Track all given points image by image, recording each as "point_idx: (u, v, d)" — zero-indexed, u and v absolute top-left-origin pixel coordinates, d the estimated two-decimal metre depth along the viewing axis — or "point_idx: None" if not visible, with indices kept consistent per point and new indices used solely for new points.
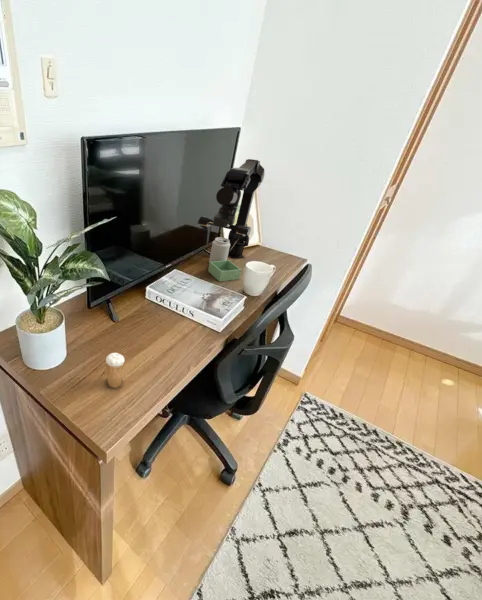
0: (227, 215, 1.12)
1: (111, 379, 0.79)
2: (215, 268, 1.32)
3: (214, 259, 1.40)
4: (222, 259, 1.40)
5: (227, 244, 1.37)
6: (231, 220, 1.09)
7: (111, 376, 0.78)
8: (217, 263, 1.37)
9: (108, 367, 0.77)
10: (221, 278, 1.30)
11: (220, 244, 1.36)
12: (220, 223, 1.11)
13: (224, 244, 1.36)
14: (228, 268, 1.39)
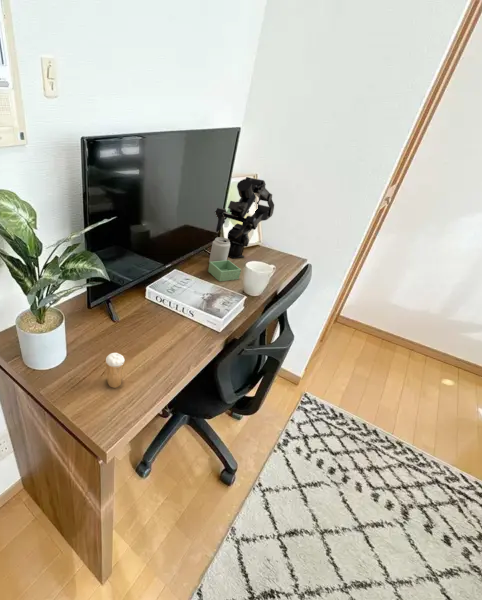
0: None
1: (111, 379, 0.79)
2: (215, 268, 1.32)
3: (214, 259, 1.40)
4: (222, 259, 1.40)
5: (227, 244, 1.37)
6: (243, 205, 1.30)
7: (111, 376, 0.78)
8: (217, 263, 1.37)
9: (108, 367, 0.77)
10: (221, 278, 1.30)
11: (220, 244, 1.36)
12: (234, 206, 1.32)
13: (224, 244, 1.36)
14: (228, 268, 1.39)
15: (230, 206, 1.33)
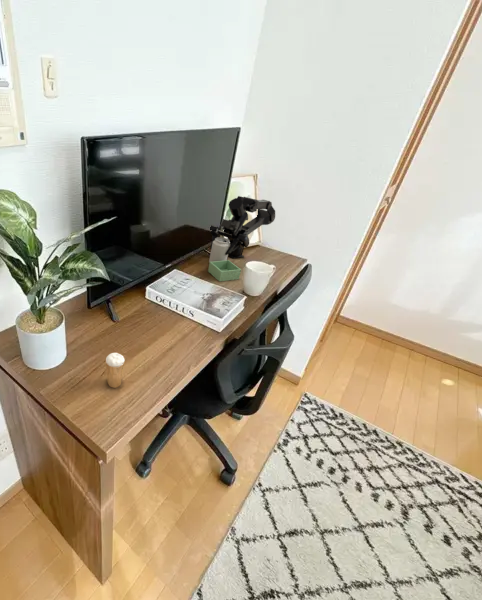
0: None
1: (111, 379, 0.79)
2: (215, 268, 1.32)
3: (214, 259, 1.40)
4: (222, 259, 1.40)
5: (227, 244, 1.37)
6: (235, 223, 1.33)
7: (111, 376, 0.78)
8: (217, 263, 1.37)
9: (108, 367, 0.77)
10: (221, 278, 1.30)
11: (220, 244, 1.36)
12: (226, 224, 1.34)
13: (224, 244, 1.36)
14: (228, 268, 1.39)
15: (222, 224, 1.35)
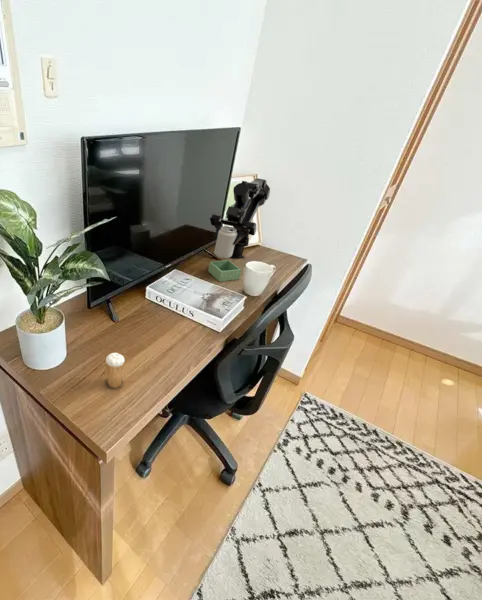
0: None
1: (111, 379, 0.79)
2: (215, 268, 1.32)
3: (222, 250, 1.31)
4: (230, 249, 1.30)
5: (235, 233, 1.28)
6: (243, 210, 1.24)
7: (111, 376, 0.78)
8: (217, 263, 1.37)
9: (108, 367, 0.77)
10: (221, 278, 1.30)
11: (228, 234, 1.27)
12: (233, 212, 1.25)
13: (232, 233, 1.27)
14: (228, 268, 1.39)
15: (229, 212, 1.26)
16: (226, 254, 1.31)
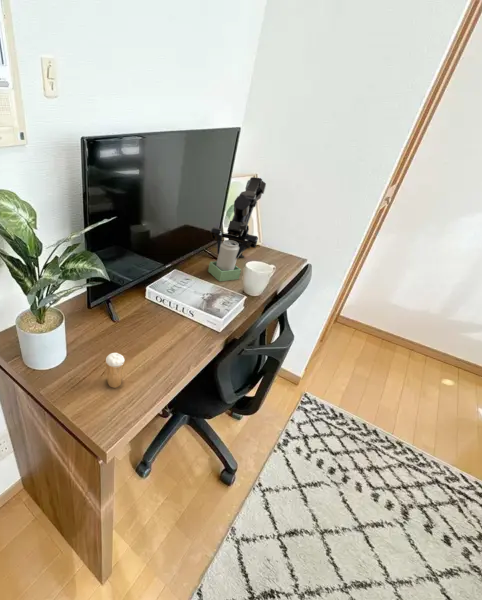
0: None
1: (111, 379, 0.79)
2: (215, 268, 1.32)
3: (225, 264, 1.30)
4: (233, 263, 1.30)
5: (237, 247, 1.27)
6: (245, 224, 1.24)
7: (111, 376, 0.78)
8: None
9: (108, 367, 0.77)
10: (221, 278, 1.30)
11: (231, 248, 1.26)
12: (236, 226, 1.24)
13: (235, 247, 1.26)
14: None
15: (231, 226, 1.25)
16: (229, 268, 1.30)
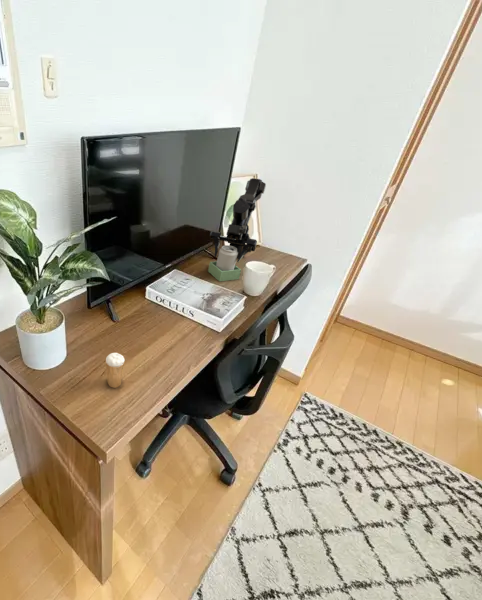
0: None
1: (111, 379, 0.79)
2: (215, 268, 1.32)
3: (224, 269, 1.31)
4: (231, 268, 1.31)
5: (236, 252, 1.28)
6: (244, 228, 1.24)
7: (111, 376, 0.78)
8: None
9: (108, 367, 0.77)
10: (221, 278, 1.30)
11: (230, 253, 1.27)
12: (235, 230, 1.25)
13: (234, 253, 1.28)
14: None
15: (230, 230, 1.25)
16: None
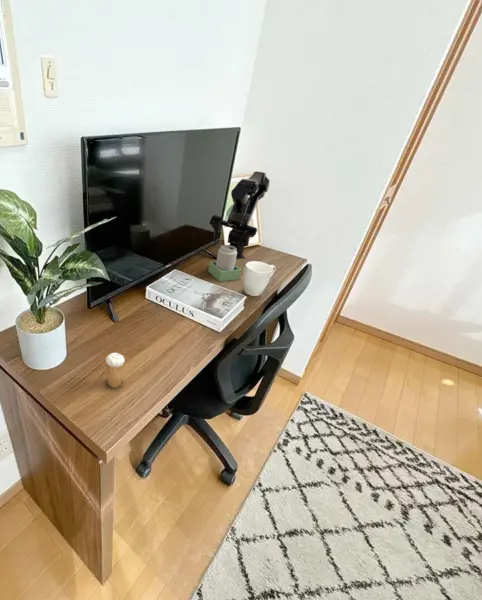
0: (242, 214, 1.25)
1: (111, 379, 0.79)
2: (215, 268, 1.32)
3: (223, 269, 1.31)
4: (231, 268, 1.31)
5: (235, 251, 1.29)
6: (248, 217, 1.23)
7: (111, 376, 0.78)
8: None
9: (108, 367, 0.77)
10: (221, 278, 1.30)
11: (229, 253, 1.27)
12: (238, 218, 1.23)
13: (233, 252, 1.28)
14: None
15: (234, 218, 1.23)
16: None
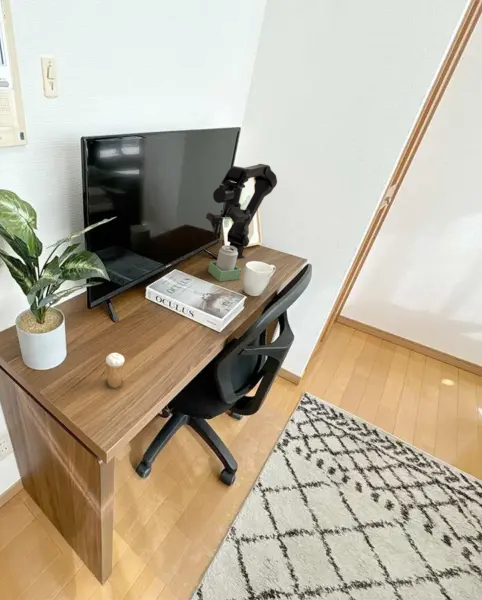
0: (240, 210, 1.30)
1: (111, 379, 0.79)
2: (215, 268, 1.32)
3: (224, 269, 1.31)
4: (231, 268, 1.31)
5: (236, 252, 1.28)
6: (248, 215, 1.29)
7: (111, 376, 0.78)
8: None
9: (108, 367, 0.77)
10: (221, 278, 1.30)
11: (230, 253, 1.27)
12: (241, 220, 1.29)
13: (234, 253, 1.28)
14: None
15: (237, 221, 1.29)
16: None
